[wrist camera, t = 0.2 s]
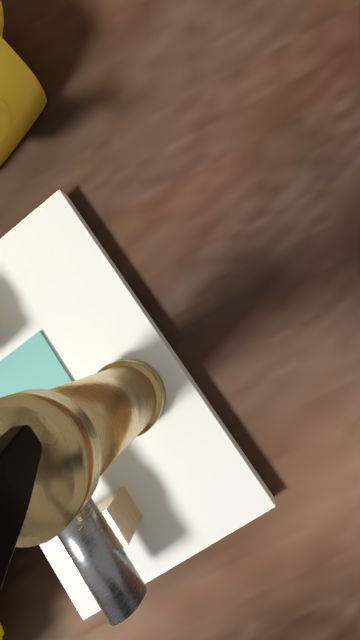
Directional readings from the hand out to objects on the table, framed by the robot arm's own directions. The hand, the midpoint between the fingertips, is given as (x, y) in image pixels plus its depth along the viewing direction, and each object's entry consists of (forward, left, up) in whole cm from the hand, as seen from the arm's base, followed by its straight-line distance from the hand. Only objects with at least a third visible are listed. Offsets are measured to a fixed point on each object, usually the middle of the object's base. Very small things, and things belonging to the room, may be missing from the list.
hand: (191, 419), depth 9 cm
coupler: (+2, +7, -14) cm, 15 cm away
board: (+4, +11, -15) cm, 18 cm away
